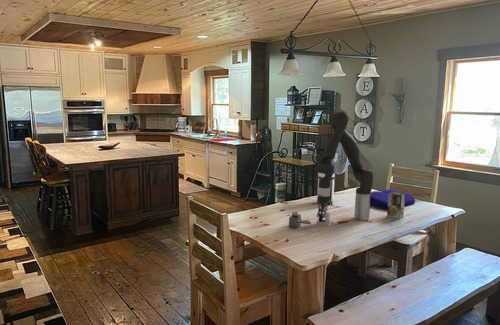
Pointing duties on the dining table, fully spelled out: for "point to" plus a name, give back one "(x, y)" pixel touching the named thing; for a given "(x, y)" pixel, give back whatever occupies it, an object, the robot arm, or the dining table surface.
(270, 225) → the dining table surface
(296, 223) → the stubby hammer
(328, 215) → the lock block
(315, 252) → the dining table surface
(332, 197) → the coffee press
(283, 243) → the dining table surface
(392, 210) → the coffee box
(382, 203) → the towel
